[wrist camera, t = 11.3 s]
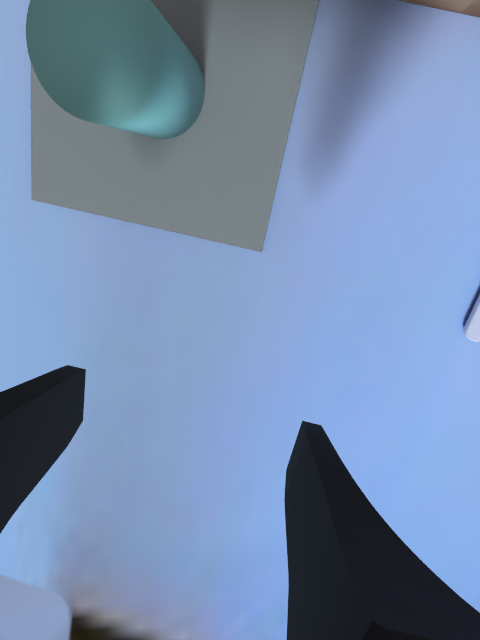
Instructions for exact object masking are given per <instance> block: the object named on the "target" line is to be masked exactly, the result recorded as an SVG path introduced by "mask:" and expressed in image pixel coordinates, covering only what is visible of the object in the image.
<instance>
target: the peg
mask: <svg viewBox="0 0 480 640" xmlns="http://www.w3.org/2000/svg"><path fill="white" fill-rule="evenodd" d="M26 40H27V47H28V53H29V57H30V60H31V63H32V66H33V69H34V72H35V74H36V76H37V78H38V80H39V82H40V83H41V85H42V87H43V88H44V90H45V91H46V92H47V94H48V95H49V96H50V97H51V99H52V100H53V101H54V102H55V103H56V104H57V105H58V106H60V107H61V108H62V109H63V110H65V111H66V112H68V113H69V114H71V115H72V116H75V117H77V118H79V119H81V120H84V121H88V122H91V123H96V124H100V125H104V126H108V127H112V128H116V129H120V130H124V131H128V132H132V133H136V134H141V135H145V136H149V137H153V138H158V139H169V138H173V137H177V136H179V135H181V134H183V133H184V132H186V131H187V130H188V129H189V128H190V127H191V126H192V125H193V124H194V123H195V121H196V120H197V118H198V116H199V114H200V112H201V109H202V107H203V102H204V95H205V85H204V78H203V74H202V71H201V68H200V65H199V63H198V61H197V59H196V58H195V56H194V55H193V53H192V52H191V51H190V50H189V48H188V47H187V46H186V45H185V43H184V42H183V41H182V40H181V38H180V37H179V36H178V35H177V33H176V32H175V31H174V29H173V28H172V27H171V26H170V24H169V23H168V22H167V21H166V19H165V18H164V17H163V16H162V14H161V13H160V12H159V10H158V9H157V8H156V7H155V5H154V4H153V3H152V2H151V0H31V1H30V4H29V8H28V13H27V20H26Z"/></svg>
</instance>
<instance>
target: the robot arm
mask: <svg viewBox="0 0 480 640" xmlns="http://www.w3.org/2000/svg"><path fill="white" fill-rule="evenodd" d="M463 332H464V335H465V336H466V337H467V338H468V339H470V340H472V341H477V342H480V295H479V297H478V299H477V301H476V303H475V305H474V307H473V309H472V311H471V314H470V316H469V318H468V320H467V322H466V324H465V326H464V330H463ZM85 373H86V369H81V368H77V367H73V366H69V365H67V366H64V367H61V368H59V369H56V370H54V371H51V372H49V373H46V374H44V375H41V376H39V377H37V378H34V379H32V380H29V381H27V382H25V383H22V384H20V385H17V386H15V387H12V388H10V389H7V390H5V391H2V392H0V533H1V532H2V530H3V529H4V527H5V526H6V524H7V523H8V521H9V520H10V518H11V517H12V515H13V514H14V513H15V511H16V510H17V509H18V507H19V506H20V505H21V504H22V502H23V501H24V500H25V499H26V497H27V496H28V495H29V494H30V492H31V491H32V490H33V489H34V487H35V486H36V485H37V484H38V482H39V481H40V480H41V479H42V478H43V476H44V475H45V474H46V473H47V471H48V470H49V469H50V468H51V466H52V465H53V464H54V463H55V461H56V460H57V459H58V458H59V456H60V455H61V454H62V452H63V451H64V450H65V449H66V447H67V446H68V444H69V443H70V441H71V439H72V438H73V436H74V435H75V433H76V431H77V430H78V428H79V426H80V424H81V423H82V421H83V409H84V391H85ZM285 519H286V537H287V554H288V573H289V595H288V623H287V640H480V613H479V612H478V611H477V610H475V609H474V608H473V607H472V606H471V605H469V604H468V603H467V602H466V601H464V600H463V599H462V598H461V597H460V596H459V595H457V594H456V593H455V592H454V591H453V590H452V589H451V588H450V587H449V586H448V585H446V584H445V583H444V582H443V581H442V580H441V579H440V578H439V577H438V576H436V575H435V574H434V573H433V572H432V571H431V570H430V569H429V568H428V567H427V566H426V565H425V564H424V563H423V562H422V561H421V560H420V559H419V558H418V557H417V556H416V555H415V554H414V553H413V552H412V551H411V550H410V549H409V548H408V546H407V545H406V544H405V543H404V542H403V541H402V540H401V539H400V538H399V537H398V536H397V535H396V534H395V532H394V531H393V530H392V529H391V528H390V527H389V525H388V524H387V523H386V522H385V521H384V519H383V518H382V517H381V516H380V515H379V513H378V512H377V511H376V510H375V508H374V507H373V506H372V505H371V503H370V502H369V501H368V499H367V498H366V496H365V495H364V494H363V492H362V491H361V489H360V488H359V487H358V485H357V484H356V482H355V481H354V479H353V478H352V476H351V475H350V473H349V472H348V470H347V468H346V467H345V465H344V464H343V462H342V460H341V459H340V457H339V455H338V454H337V452H336V450H335V449H334V447H333V445H332V443H331V442H330V440H329V438H328V436H327V435H326V433H325V431H324V430H323V428H322V426H321V425H317V424H313V423H309V422H305V421H302V424H301V427H300V430H299V433H298V436H297V439H296V442H295V445H294V448H293V451H292V454H291V457H290V461H289V464H288V467H287V470H286V484H285Z"/></svg>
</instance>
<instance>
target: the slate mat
mask: <svg viewBox="0 0 480 640" xmlns="http://www.w3.org/2000/svg"><path fill="white" fill-rule="evenodd" d="M30 1H31V0H30ZM151 2H152V3H153V4H154V5H155V7H156V8H157V9H158V10H159V12H160V13H161V14H162V16H163V17H164V18H165V19H166V21H167V22H168V23H169V24H170V26H171V27H172V28H173V29H174V31H175V32H176V33H177V35H178V36H179V37H180V38H181V40H182V41H183V42H184V43H185V45H186V46H187V47H188V48H189V50H190V51H191V52H192V53H193V55H194V56H195V58H196V59H197V61H198V63H199V65H200V68H201V71H202V74H203V78H204V85H205V95H204V102H203V107H202V109H201V112H200V114H199V116H198V118H197V120H196V121H195V123H194V124H193V125H192V126H191V127H190V128H189V129H188V130H187V131H186V132H184V133H183V134H181V135H179V136H177V137H173V138H169V139H158V138H153V137H149V136H145V135H141V134H136V133H132V132H128V131H124V130H120V129H116V128H112V127H108V126H104V125H100V124H96V123H91V122H88V121H84V120H81V119H79V118H77V117H75V116H72V115H71V114H69V113H68V112H66V111H65V110H63V109H62V108H61V107H60V106H58V105H57V104H56V103H55V102H54V101H53V100H52V99H51V97H50V96H49V95H48V94H47V92H46V91H45V90H44V88H43V87H42V85H41V83H40V82H39V80H38V78H37V76H36V74H35V72H34V69H33V66H32V63H31V174H32V200H35V201H39V202H44V203H48V204H53V205H57V206H61V207H66V208H70V209H75V210H79V211H83V212H88V213H92V214H97V215H101V216H105V217H110V218H114V219H119V220H123V221H127V222H132V223H136V224H141V225H145V226H149V227H154V228H158V229H163V230H167V231H171V232H176V233H180V234H185V235H189V236H193V237H198V238H202V239H207V240H211V241H215V242H220V243H224V244H229V245H233V246H237V247H242V248H246V249H251V250H255V251H259V252H262V248H263V243H264V239H265V235H266V230H267V226H268V221H269V217H270V213H271V208H272V204H273V200H274V195H275V191H276V186H277V182H278V178H279V173H280V169H281V165H282V160H283V156H284V151H285V147H286V143H287V138H288V134H289V129H290V125H291V121H292V116H293V112H294V108H295V103H296V99H297V94H298V90H299V86H300V81H301V77H302V73H303V68H304V64H305V59H306V55H307V51H308V46H309V42H310V38H311V33H312V29H313V24H314V20H315V16H316V11H317V7H318V2H319V0H151Z"/></svg>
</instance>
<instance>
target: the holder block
mask: <svg viewBox="0 0 480 640" xmlns="http://www.w3.org/2000/svg"><path fill="white" fill-rule="evenodd" d="M399 1H404V2H409V3H414V4H418V5H423V6H428V7H433V8H438V9H442V10H447V11H452V12H457V13H461V14H466V15H471V16H476V17H480V0H399Z"/></svg>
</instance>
